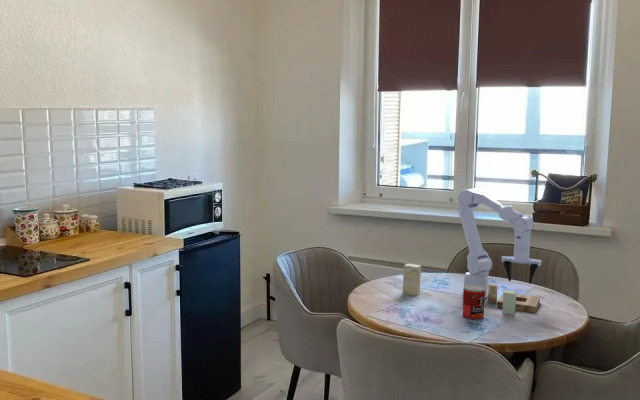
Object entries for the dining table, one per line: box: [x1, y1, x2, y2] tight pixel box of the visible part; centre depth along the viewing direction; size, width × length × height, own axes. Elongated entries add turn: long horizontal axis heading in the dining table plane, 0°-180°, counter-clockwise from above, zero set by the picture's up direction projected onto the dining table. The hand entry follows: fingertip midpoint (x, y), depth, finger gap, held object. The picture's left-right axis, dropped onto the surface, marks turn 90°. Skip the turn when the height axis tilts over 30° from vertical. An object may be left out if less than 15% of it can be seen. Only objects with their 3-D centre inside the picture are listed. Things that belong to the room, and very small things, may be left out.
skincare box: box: [402, 263, 422, 297], centre depth 252 cm, size 6×4×12 cm
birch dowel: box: [487, 283, 499, 304], centre depth 242 cm, size 4×4×7 cm
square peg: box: [502, 289, 517, 315], centre depth 229 cm, size 4×4×8 cm
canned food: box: [462, 284, 486, 320], centre depth 224 cm, size 8×8×11 cm
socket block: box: [496, 293, 541, 314], centre depth 239 cm, size 14×14×2 cm
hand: (519, 281), depth 237 cm, fingers open, 7 cm apart
